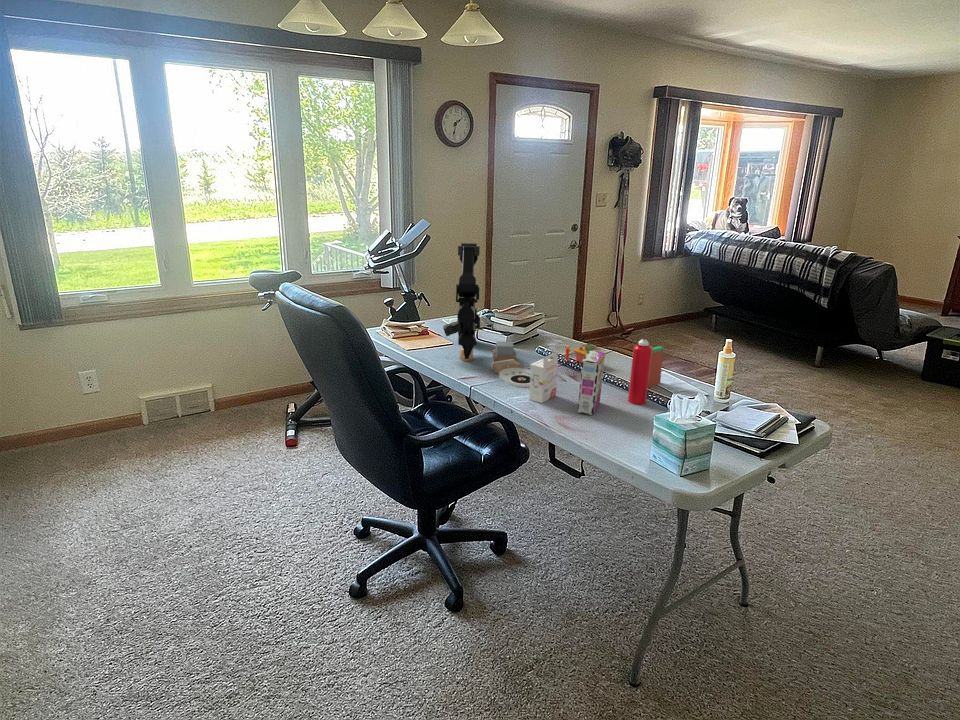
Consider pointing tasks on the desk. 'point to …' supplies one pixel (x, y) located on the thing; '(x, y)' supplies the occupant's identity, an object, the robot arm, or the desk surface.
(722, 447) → the desk surface
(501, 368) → the record player
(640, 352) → the bottle
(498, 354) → the slate block
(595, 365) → the candy bar box
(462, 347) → the clay cylinder
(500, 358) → the walnut block
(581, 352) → the toy building block set
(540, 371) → the ink cartridge box
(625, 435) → the desk surface
